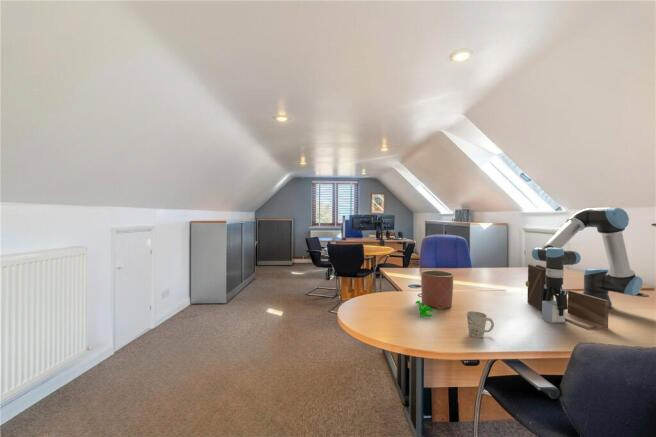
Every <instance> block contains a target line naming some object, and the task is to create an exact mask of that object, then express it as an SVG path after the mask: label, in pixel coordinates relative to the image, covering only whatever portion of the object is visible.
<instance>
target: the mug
mask: <svg viewBox="0 0 656 437" xmlns="http://www.w3.org/2000/svg"><path fill="white" fill-rule="evenodd" d="M466 318H467V320H466V321H467V326H468V327H467V328H468V334H469V336H471V337H473V338H476V339H482V338H484V337H485V333H490V332H491V331H493V329H494V327H495V323H494V320H493V319H492V318H491V317H488V315H487V314H485V313H483V312H480V311H473V310H472V311H466ZM487 321H489V322H490V328H488V329H487V330H485V329H486V323H487Z"/></svg>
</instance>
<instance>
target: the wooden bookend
mask: <svg viewBox="0 0 656 437" xmlns="http://www.w3.org/2000/svg"><path fill="white" fill-rule="evenodd" d="M567 291H568V293H567V307H568V309H567V312H565V322H568V323H571V324H573V325H575V326H578V327H580V328H583V329H586V330H594V329H595V330H597V329H598V330H599V329H608V328H609V309H610V308H609V301H608V300H604V299H601V298H597V297H593V296H590V295H586V294H583V292H579V291H576V290H572V289H571V290H567Z"/></svg>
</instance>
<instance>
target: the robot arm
mask: <svg viewBox="0 0 656 437" xmlns="http://www.w3.org/2000/svg"><path fill="white" fill-rule="evenodd" d="M629 222H630V218H629V215H628V213H627V212H626V211H625V210H624V209H623V208H621V207H612V206H611V207H588V208H584V209H582V210H581V209H580V210H579V211H577V212H576V213H574V214H572V215H571V216H570V217H569V218H568V219H566V222H565V224H564V225H563V226H562V227H561V228H560V229H559V230H558V231H556V233H555V234H553V235H552V237H551V238H549V240H547V241H546V242H545V243H544V244H543V245H542V246H541V247H535V248H532V250H531V256H532V259H534V260H535V261H540V262H545V267H546V275H547V276H546V283H547V284H546V285H541V286H542V295H541V302H542V301H551V298H552V295H553V294H554V298H555V301H556V302H557V306H558V309H557V315H556V321H557V322H562V316H563V310H565V311H566V310H567V311H568V290H565V289H563V287H562V286H563V285H564V266H574V265H577V264H579V263H580V262H581V260H582V258H581V254H580V253H579V252H577V251H575V250H564V248H563V247H564V246H565V245H567V243H569V241H570V240H571V239H572V238H573V237H575V235H577V233H579V232H580V231H583V230H584V229H585V228H596V229H597V233H600V234H601V236H602V241H603V245H604V250H605V253H606V254H605V255H606V258H607V262H608V266H609V269H608V268H586V269H584V270H583V271H584V273H583V292H582V294H586V295H590V296H593V297H597V298H601V299H604V300H608V301H609V309H610V308H612V307H613V304H612V301H611V297H610V295H609V292H612V293H616V294H623V295H627V296H636V295H638V294H639V293H640V292H641V290H642V288H643V278H641V277H640V276H638V275H636V273H635V271H634V270H633V269H631V266H630V262H629V258H628V253H627V248H626V244H625V240H624V235H623V232H624V231H625V230H626V228H627V227H628V226H629Z"/></svg>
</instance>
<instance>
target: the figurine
mask: <svg viewBox="0 0 656 437" xmlns="http://www.w3.org/2000/svg"><path fill="white" fill-rule="evenodd" d="M420 300H421V299H420ZM420 300H417V301H415V304H418V312H419V315H420V318H425V317H433V316H434V314H435V313H436V312H435V311H434V310H433V309H432V307H431V306H428V305H426V304H423V306H422V302H421V301H420ZM427 312H430V313H429V314H428V313H427ZM431 313H433V314H431Z"/></svg>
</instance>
